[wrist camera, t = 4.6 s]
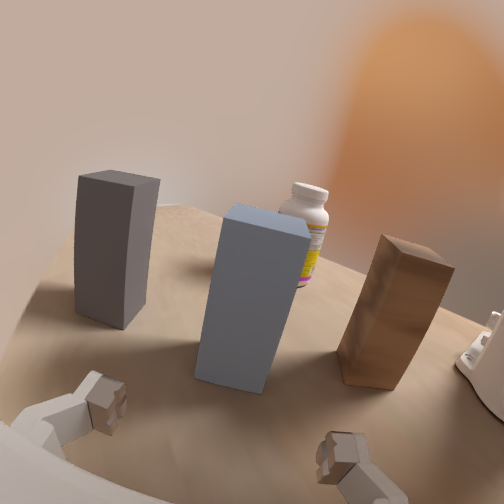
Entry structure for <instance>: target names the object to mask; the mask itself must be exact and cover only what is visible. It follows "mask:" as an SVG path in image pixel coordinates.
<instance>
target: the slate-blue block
mask: <svg viewBox="0 0 504 504" xmlns="http://www.w3.org/2000/svg"><path fill="white" fill-rule="evenodd" d="M310 243H311V236H310V233H309V230H308V227H307V224H306V221H305V220H304V219H300V218H297V217H293V216H289V215H285V214H281V213H277V212H273V211H269V210H264V209H260V208H256V207H252V206H248V205H243V204H239V203H235V205H234V206H233V207H232V208H231V210H230V211H229V212H228V213H227V214H226V215H225V217H224V218H223V223H222V228H221V233H220V238H219V243H218V248H217V253H216V258H215V263H214V268H213V273H212V278H211V284H210V289H209V294H208V300H207V305H206V311H205V316H204V322H203V327H202V333H201V339H200V344H199V350H198V356H197V362H196V368H195V374H194V378H195V379H198V380H202V381H206V382H210V383H213V384H217V385H221V386H225V387H230V388H234V389H238V390H243V391H247V392H252V393H256V394H261V393H262V390H263V387H264V385H265V382H266V379H267V376H268V373H269V371H270V368H271V365H272V362H273V359H274V356H275V353H276V350H277V347H278V344H279V341H280V339H281V336H282V333H283V330H284V326H285V323H286V320H287V317H288V314H289V311H290V308H291V305H292V302H293V299H294V295H295V292H296V289H297V286H298V283H299V279H300V276H301V273H302V270H303V266H304V263H305V260H306V256H307V253H308V250H309V246H310Z"/></svg>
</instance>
